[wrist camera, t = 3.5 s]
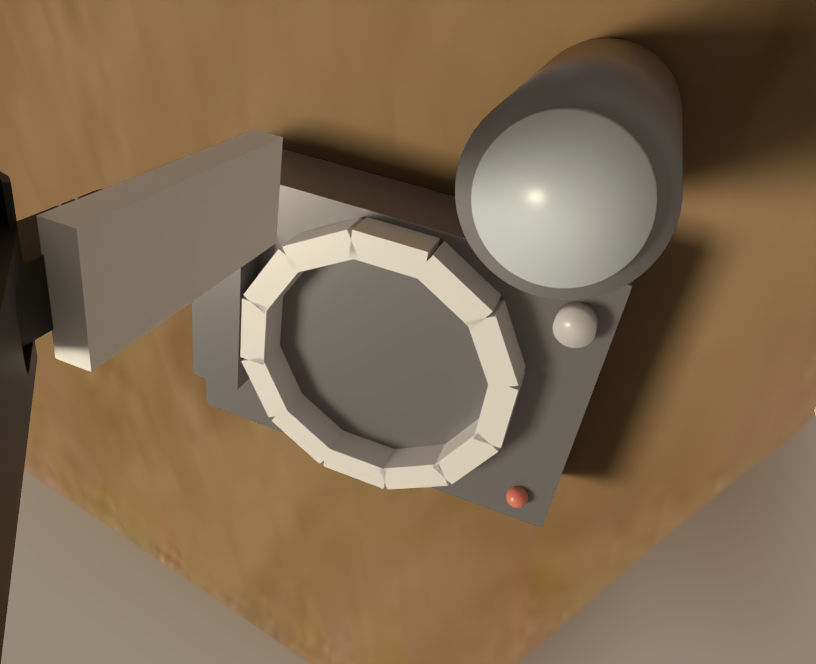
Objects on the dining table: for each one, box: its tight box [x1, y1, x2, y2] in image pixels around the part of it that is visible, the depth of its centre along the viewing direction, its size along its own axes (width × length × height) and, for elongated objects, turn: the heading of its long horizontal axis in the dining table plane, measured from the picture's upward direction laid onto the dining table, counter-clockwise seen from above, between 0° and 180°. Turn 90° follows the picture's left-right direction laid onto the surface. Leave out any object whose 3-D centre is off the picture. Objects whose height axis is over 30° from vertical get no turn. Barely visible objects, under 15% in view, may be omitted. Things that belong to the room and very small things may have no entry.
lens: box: [455, 38, 683, 300], centre depth 22 cm, size 6×6×10 cm
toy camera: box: [192, 149, 633, 528], centre depth 31 cm, size 18×13×6 cm
